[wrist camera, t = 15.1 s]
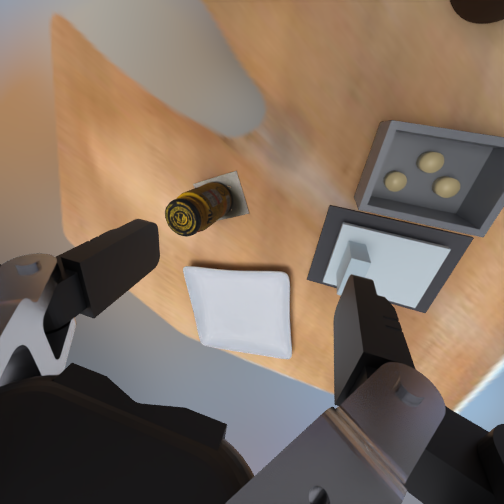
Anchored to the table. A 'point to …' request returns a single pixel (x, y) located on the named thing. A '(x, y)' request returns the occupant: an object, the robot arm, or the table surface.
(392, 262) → the lid
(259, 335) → the salad plate
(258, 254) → the table surface
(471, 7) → the olive oil
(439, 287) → the mat
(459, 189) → the tub
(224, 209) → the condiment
